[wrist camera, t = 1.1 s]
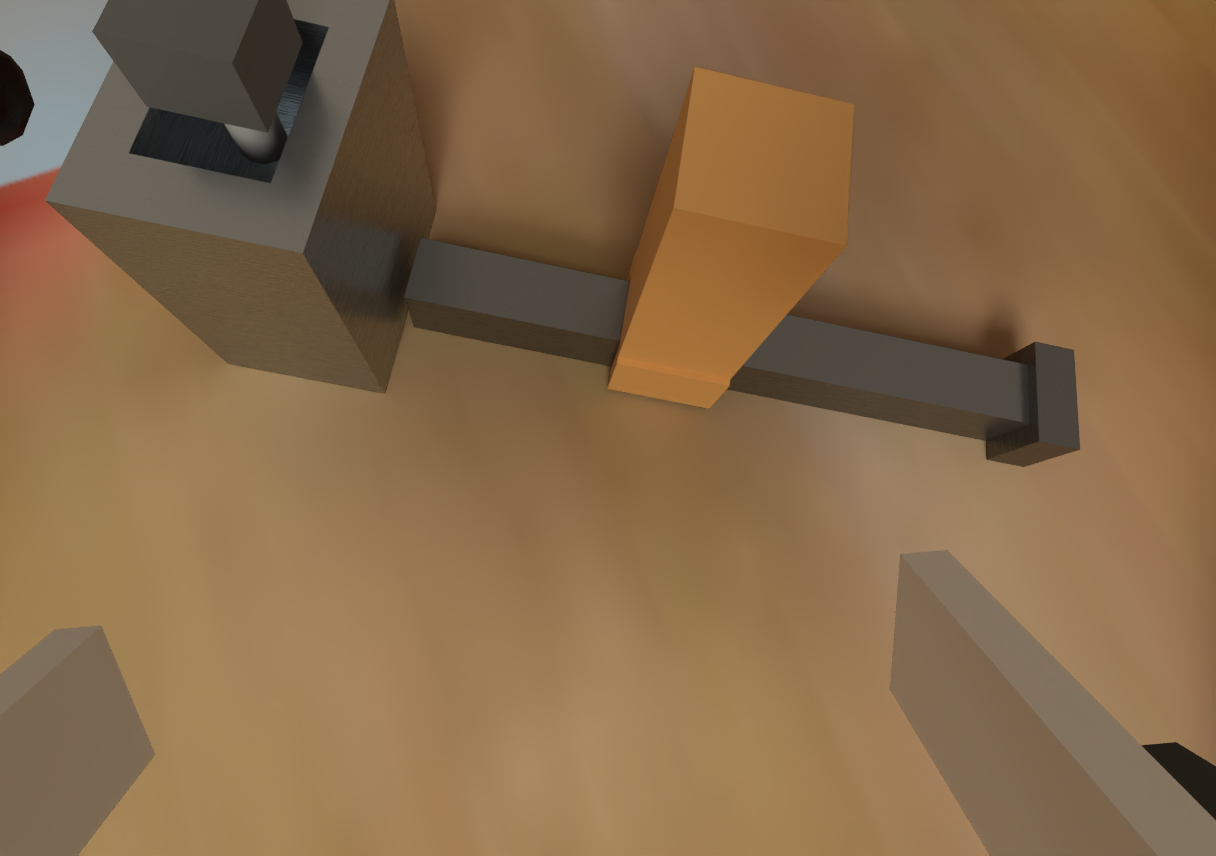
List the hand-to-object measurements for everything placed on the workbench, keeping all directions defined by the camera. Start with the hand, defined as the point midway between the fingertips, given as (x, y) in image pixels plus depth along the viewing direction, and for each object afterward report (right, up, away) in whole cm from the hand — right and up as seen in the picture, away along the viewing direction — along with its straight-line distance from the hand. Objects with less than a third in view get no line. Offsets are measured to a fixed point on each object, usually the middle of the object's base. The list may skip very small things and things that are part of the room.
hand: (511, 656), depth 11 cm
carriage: (+4, +8, +21) cm, 23 cm away
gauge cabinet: (-11, +11, +20) cm, 26 cm away
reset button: (-10, +13, +11) cm, 20 cm away
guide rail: (+7, +7, +22) cm, 24 cm away
